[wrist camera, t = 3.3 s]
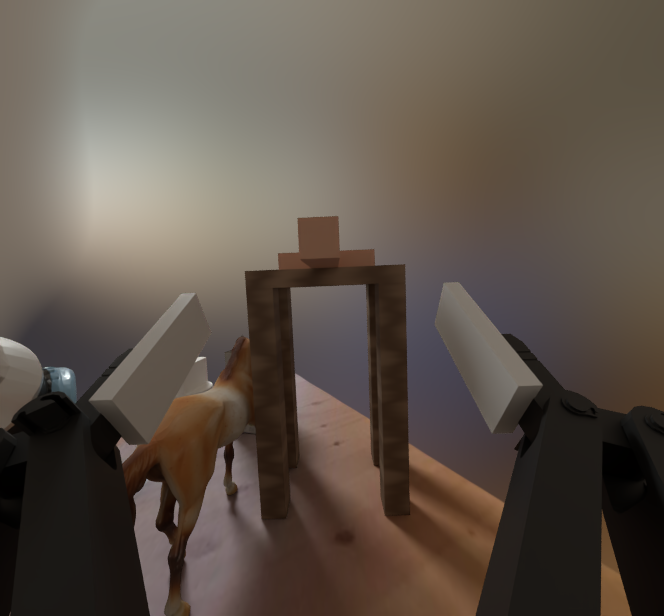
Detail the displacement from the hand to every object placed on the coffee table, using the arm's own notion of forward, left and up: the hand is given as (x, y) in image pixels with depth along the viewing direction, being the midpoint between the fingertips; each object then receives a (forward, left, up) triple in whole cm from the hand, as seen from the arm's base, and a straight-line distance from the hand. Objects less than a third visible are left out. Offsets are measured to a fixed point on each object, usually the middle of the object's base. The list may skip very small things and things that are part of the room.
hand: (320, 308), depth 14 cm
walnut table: (0, +21, -27) cm, 34 cm away
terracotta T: (0, +16, +3) cm, 17 cm away
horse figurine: (-17, +15, -27) cm, 35 cm away
